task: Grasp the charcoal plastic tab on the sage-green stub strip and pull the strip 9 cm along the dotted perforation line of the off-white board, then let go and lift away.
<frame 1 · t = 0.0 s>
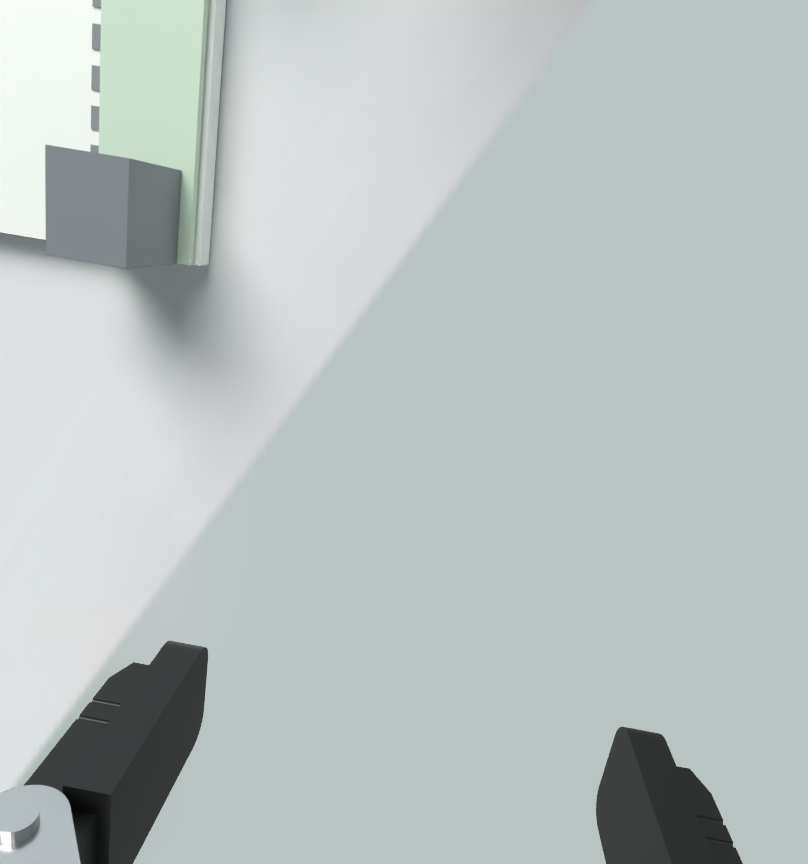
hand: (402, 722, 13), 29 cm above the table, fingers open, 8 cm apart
ticket board: (13, 88, 38), on the table
stub: (123, 94, 33), point 5 cm above the table, slide at 0.0 cm
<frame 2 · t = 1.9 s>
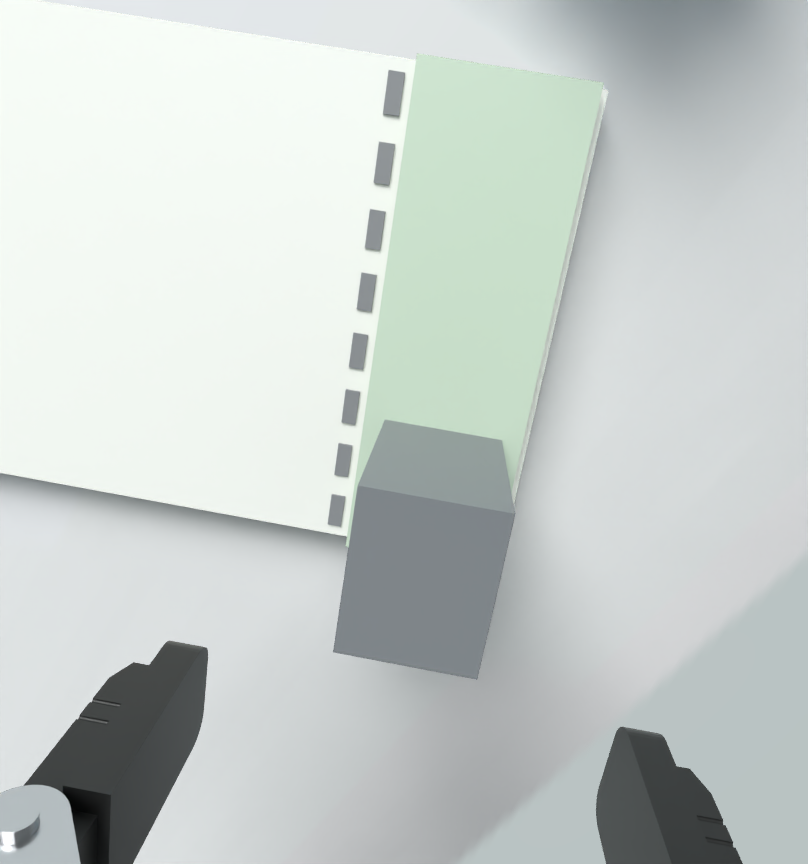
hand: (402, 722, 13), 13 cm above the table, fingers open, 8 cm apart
ticket board: (213, 289, 24), on the table
stub: (458, 358, 19), point 5 cm above the table, slide at 0.0 cm
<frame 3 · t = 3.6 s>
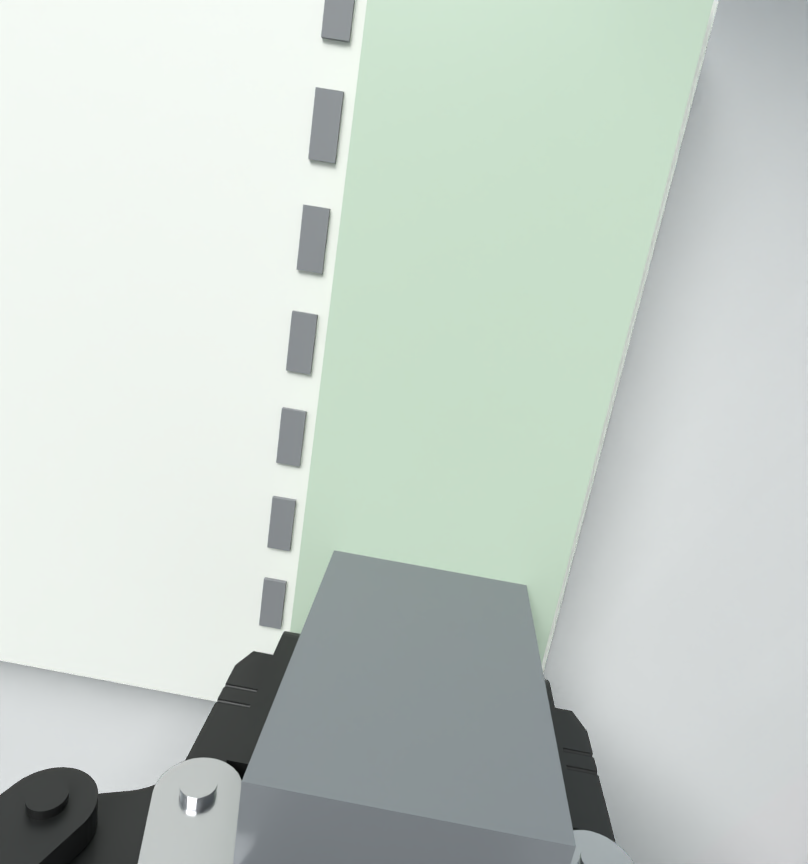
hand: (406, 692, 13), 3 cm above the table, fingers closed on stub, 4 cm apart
ticket board: (68, 333, 15), on the table
stub: (454, 479, 10), point 5 cm above the table, slide at 0.0 cm, touching gripper
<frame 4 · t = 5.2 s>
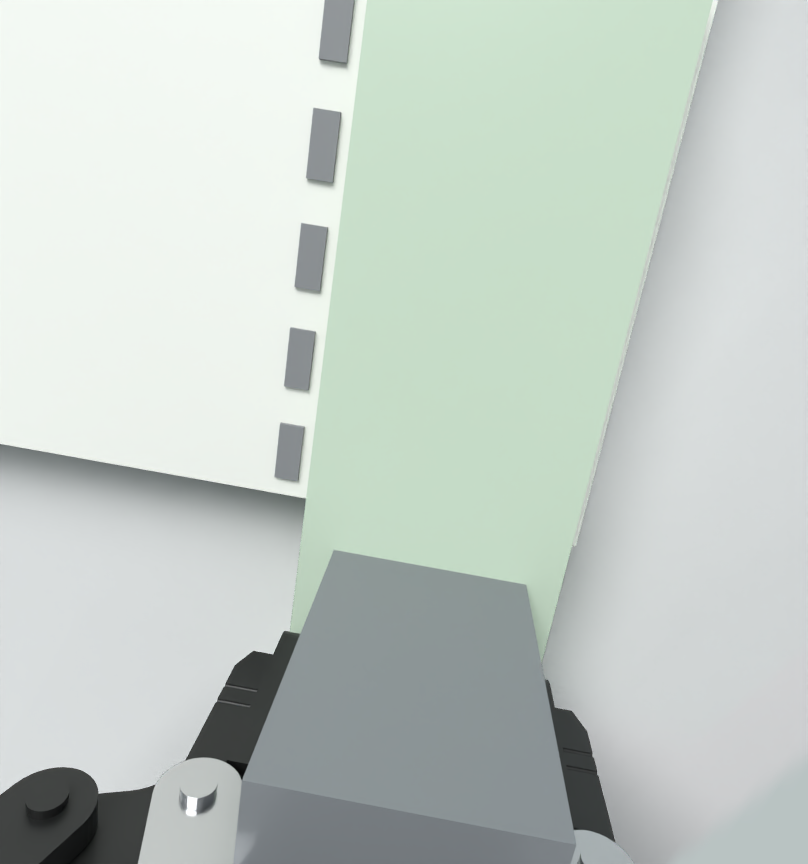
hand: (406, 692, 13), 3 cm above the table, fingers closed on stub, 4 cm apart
ticket board: (70, 59, 13), on the table
stub: (454, 478, 10), point 5 cm above the table, slide at 5.7 cm, touching gripper
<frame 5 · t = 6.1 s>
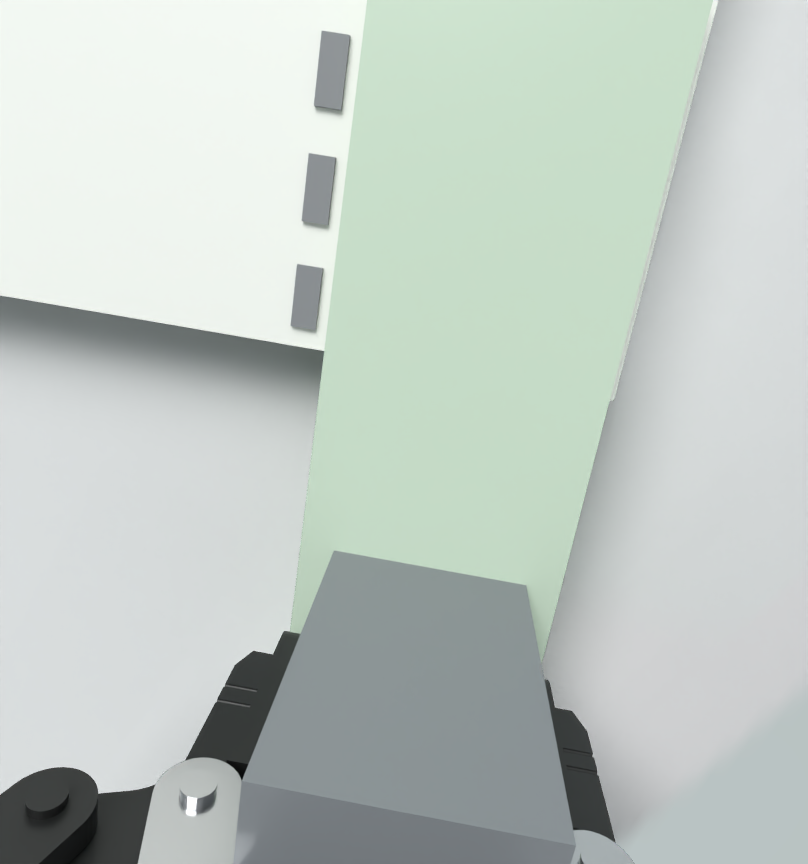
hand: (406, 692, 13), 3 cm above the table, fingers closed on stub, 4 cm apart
stub: (454, 479, 10), point 5 cm above the table, slide at 8.9 cm, touching gripper
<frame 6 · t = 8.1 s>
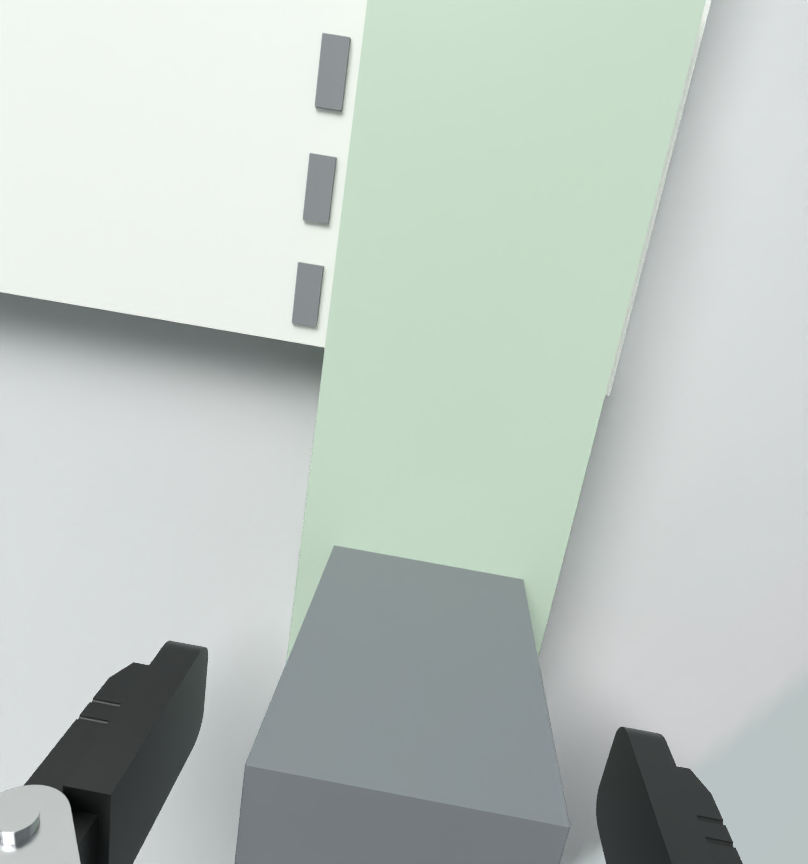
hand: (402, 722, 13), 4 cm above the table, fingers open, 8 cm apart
stub: (452, 473, 10), point 5 cm above the table, slide at 8.9 cm
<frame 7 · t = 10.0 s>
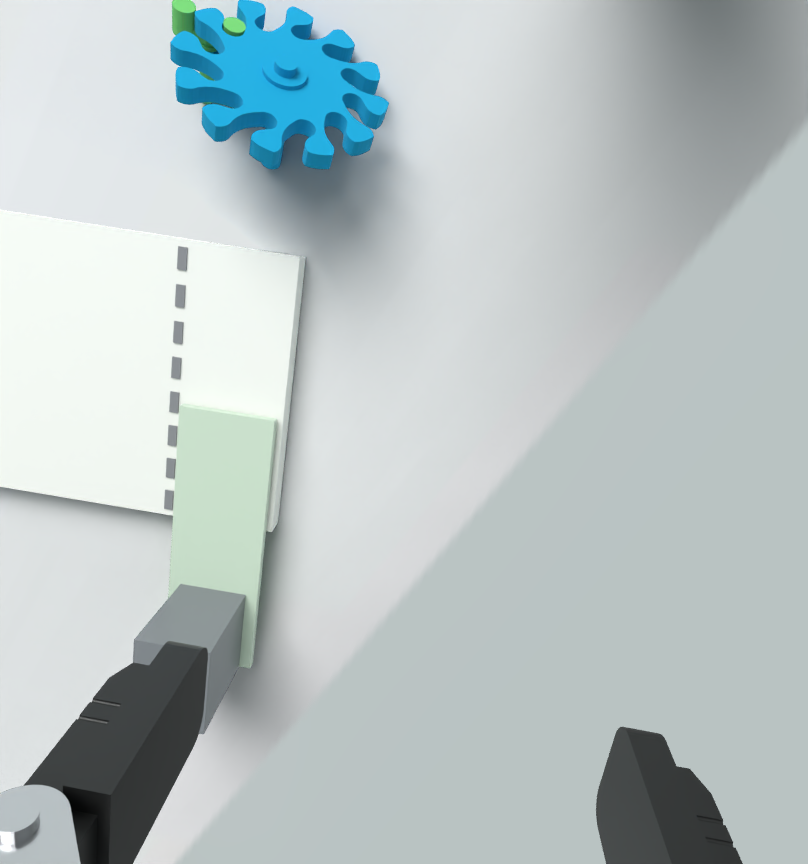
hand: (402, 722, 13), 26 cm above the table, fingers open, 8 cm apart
ticket board: (91, 364, 39), on the table
gear: (293, 96, 35), on the table
stub: (199, 564, 36), point 5 cm above the table, slide at 8.9 cm
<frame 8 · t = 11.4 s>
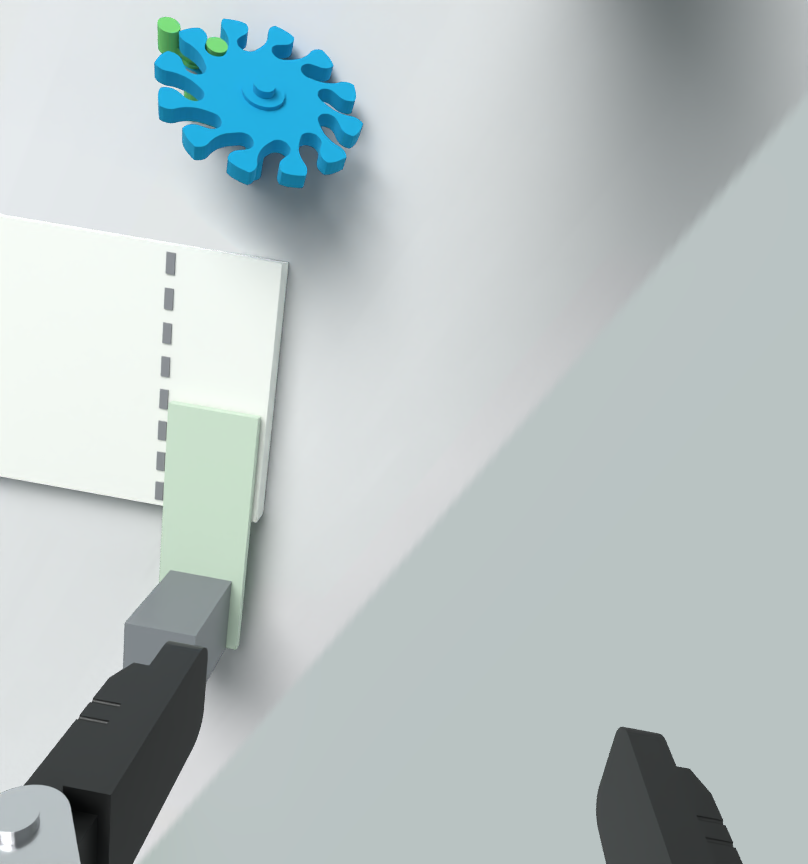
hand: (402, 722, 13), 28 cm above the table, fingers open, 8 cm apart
ticket board: (85, 362, 41), on the table
gear: (274, 110, 36), on the table
stub: (187, 553, 38), point 5 cm above the table, slide at 8.9 cm
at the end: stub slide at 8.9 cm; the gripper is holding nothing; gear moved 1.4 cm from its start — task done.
